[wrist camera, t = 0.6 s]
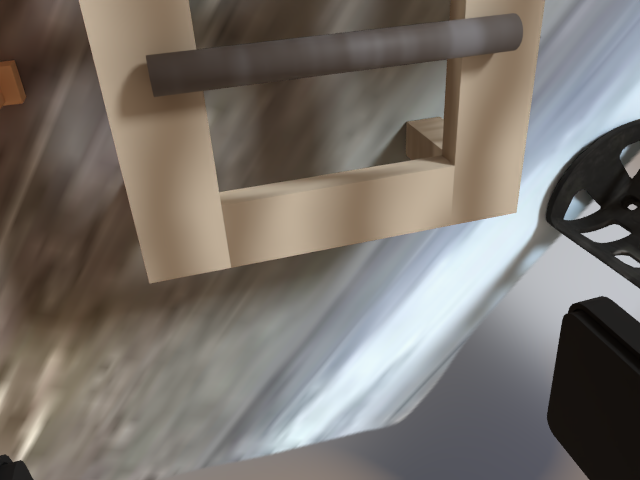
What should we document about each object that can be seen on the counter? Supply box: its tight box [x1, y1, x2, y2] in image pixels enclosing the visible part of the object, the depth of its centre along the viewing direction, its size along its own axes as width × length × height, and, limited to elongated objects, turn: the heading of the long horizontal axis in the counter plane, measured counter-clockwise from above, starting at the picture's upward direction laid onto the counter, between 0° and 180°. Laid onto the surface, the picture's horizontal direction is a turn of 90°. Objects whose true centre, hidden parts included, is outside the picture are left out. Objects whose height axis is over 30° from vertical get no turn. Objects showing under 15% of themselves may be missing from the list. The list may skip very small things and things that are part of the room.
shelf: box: [79, 0, 545, 284], centre depth 29 cm, size 20×20×12 cm
